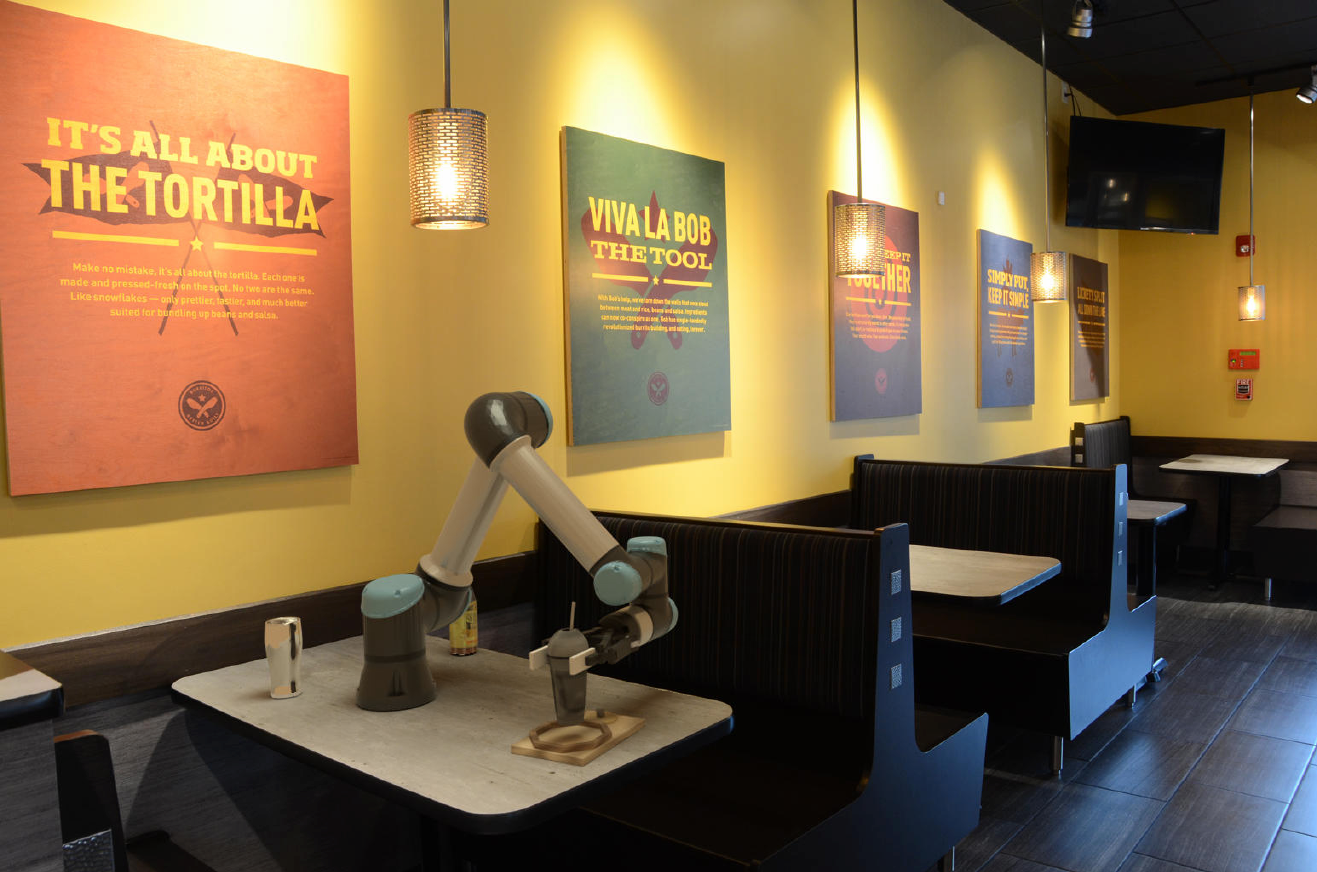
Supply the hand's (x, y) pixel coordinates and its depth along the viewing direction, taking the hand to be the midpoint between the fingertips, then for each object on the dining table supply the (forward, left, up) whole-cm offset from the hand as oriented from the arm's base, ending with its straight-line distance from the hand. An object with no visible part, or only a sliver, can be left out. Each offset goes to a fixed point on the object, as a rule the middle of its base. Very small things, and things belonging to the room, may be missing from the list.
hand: (551, 663), depth 156 cm
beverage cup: (0, +5, -11) cm, 12 cm away
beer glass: (-68, +4, -15) cm, 70 cm away
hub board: (0, +8, -15) cm, 17 cm away
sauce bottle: (-55, +43, -15) cm, 72 cm away
